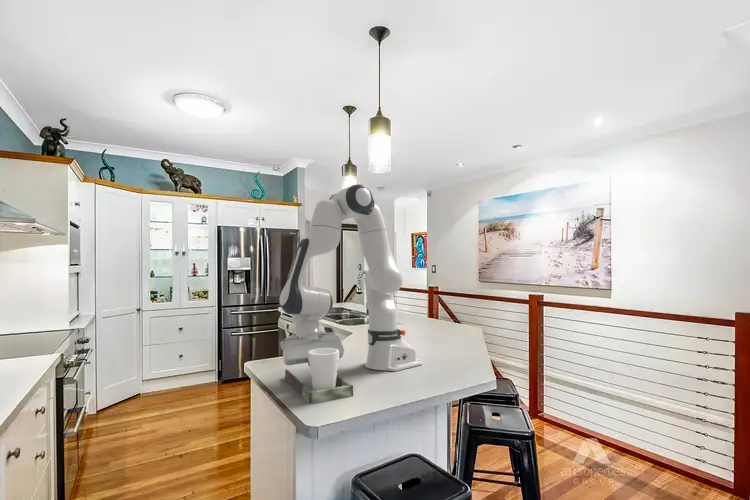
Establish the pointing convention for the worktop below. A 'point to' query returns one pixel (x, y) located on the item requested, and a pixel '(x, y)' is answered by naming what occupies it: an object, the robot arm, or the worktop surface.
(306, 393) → the channel
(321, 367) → the foam cup
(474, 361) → the worktop surface
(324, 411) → the worktop surface
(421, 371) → the worktop surface
